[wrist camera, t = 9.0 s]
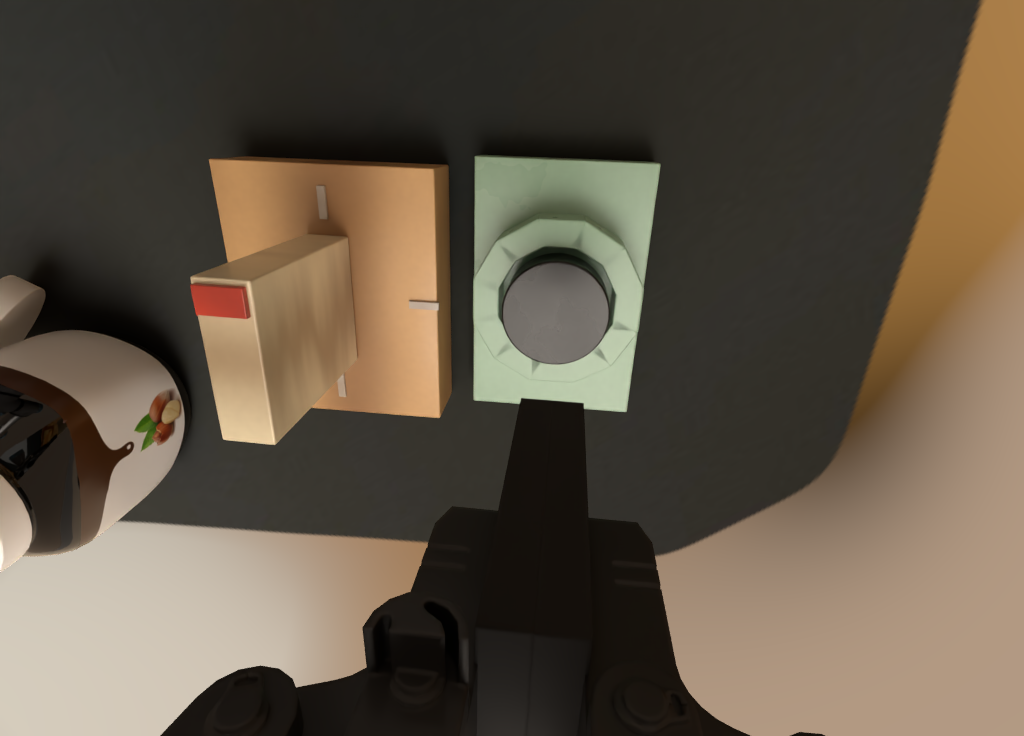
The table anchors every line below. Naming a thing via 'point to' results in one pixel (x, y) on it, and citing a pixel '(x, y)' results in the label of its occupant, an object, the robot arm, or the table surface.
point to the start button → (556, 309)
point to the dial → (276, 333)
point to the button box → (571, 230)
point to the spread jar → (77, 429)
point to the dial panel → (361, 263)
